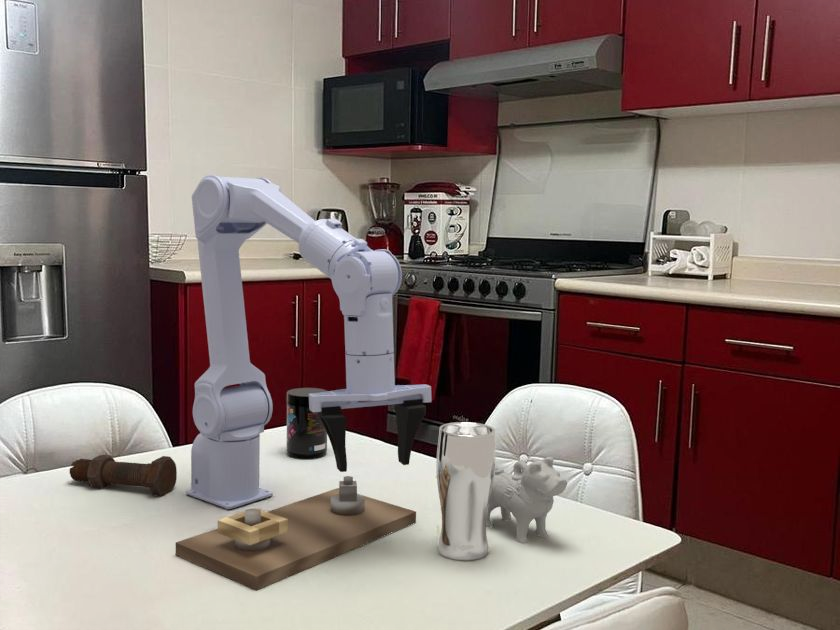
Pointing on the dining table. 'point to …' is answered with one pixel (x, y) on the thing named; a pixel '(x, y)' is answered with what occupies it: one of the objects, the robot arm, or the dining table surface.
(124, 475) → the bolt
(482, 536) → the beer glass
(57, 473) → the dining table surface
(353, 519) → the board
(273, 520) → the square wooden ring
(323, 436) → the supplement container
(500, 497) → the dog figurine
